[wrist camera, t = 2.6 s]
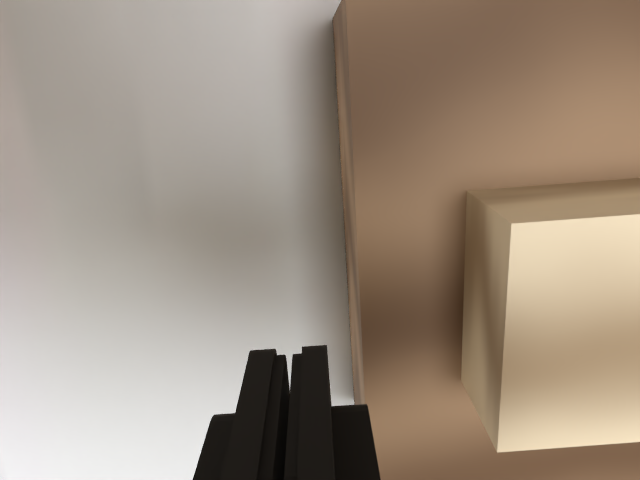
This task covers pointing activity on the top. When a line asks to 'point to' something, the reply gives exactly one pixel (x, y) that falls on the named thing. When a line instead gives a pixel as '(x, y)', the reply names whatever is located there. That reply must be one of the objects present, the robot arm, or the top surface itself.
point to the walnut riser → (464, 196)
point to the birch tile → (553, 313)
